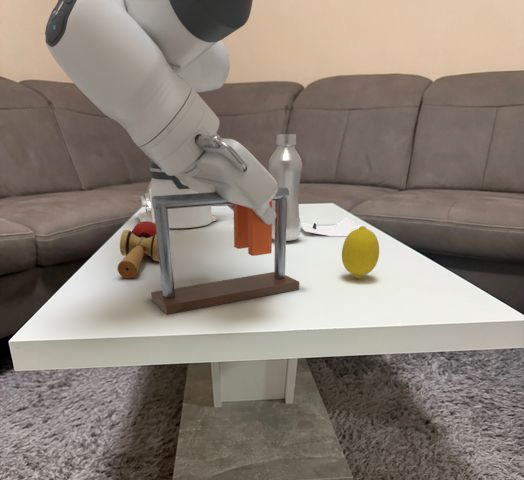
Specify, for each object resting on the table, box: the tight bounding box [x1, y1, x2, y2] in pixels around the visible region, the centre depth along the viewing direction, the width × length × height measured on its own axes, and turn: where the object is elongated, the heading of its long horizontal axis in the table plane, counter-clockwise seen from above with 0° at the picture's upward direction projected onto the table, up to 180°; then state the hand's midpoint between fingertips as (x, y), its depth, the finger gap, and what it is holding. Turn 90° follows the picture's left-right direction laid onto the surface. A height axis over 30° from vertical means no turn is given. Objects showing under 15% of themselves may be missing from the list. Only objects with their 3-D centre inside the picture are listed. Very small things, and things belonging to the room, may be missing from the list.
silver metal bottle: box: [267, 133, 303, 242], centre depth 90 cm, size 6×7×20 cm
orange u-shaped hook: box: [233, 200, 273, 257], centre depth 61 cm, size 5×3×9 cm, turn 30°
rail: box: [150, 187, 300, 315], centre depth 61 cm, size 6×20×14 cm, turn 120°
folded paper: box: [300, 216, 362, 237], centre depth 103 cm, size 12×12×2 cm
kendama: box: [117, 221, 159, 280], centre depth 77 cm, size 8×6×18 cm
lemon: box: [341, 225, 380, 279], centre depth 69 cm, size 6×6×8 cm
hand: (256, 215), depth 61 cm, fingers open, 6 cm apart
